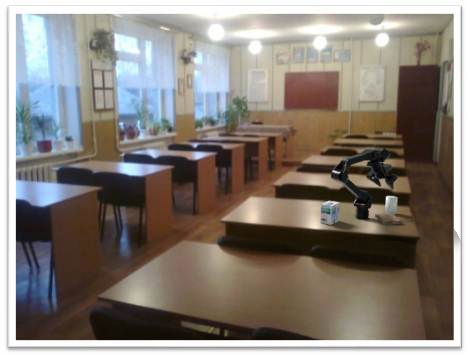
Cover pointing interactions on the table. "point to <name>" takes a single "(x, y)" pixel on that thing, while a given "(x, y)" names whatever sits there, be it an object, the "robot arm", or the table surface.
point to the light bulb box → (330, 212)
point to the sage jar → (391, 205)
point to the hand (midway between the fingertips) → (386, 187)
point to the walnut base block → (388, 219)
